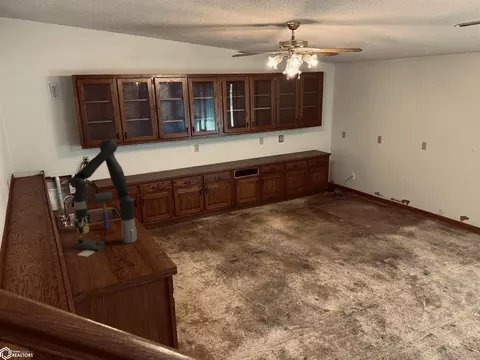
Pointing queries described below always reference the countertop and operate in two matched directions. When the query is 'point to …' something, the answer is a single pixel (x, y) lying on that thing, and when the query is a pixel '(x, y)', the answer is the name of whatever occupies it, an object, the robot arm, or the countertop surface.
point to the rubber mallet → (104, 205)
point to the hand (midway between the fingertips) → (83, 231)
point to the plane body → (90, 243)
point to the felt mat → (86, 253)
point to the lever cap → (84, 228)
